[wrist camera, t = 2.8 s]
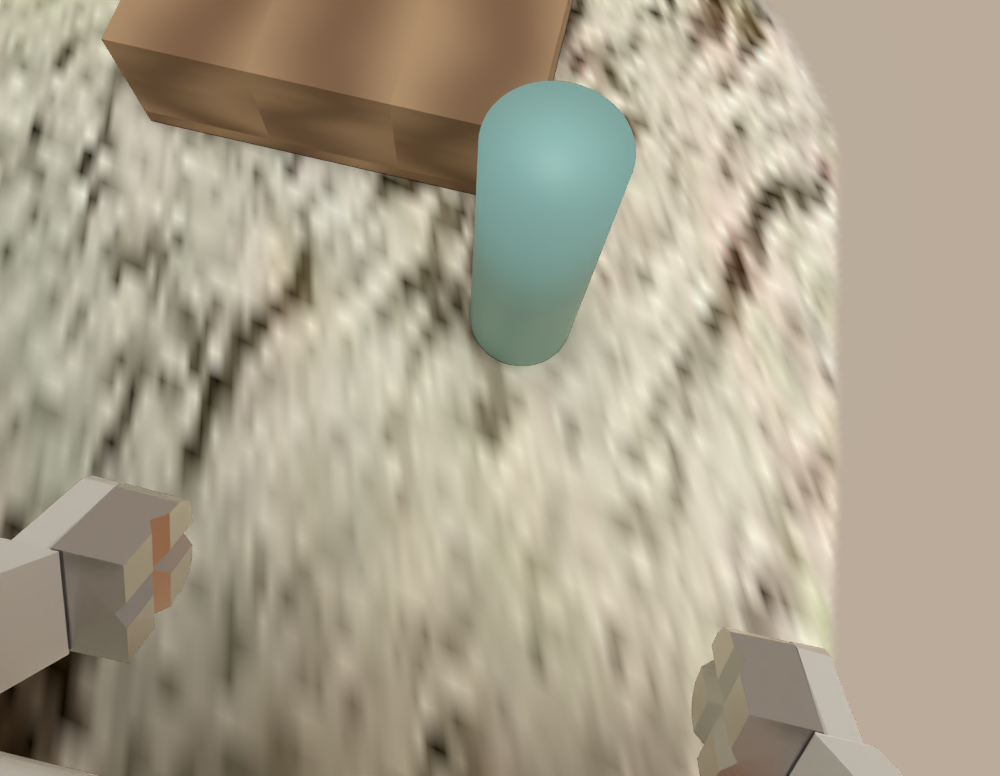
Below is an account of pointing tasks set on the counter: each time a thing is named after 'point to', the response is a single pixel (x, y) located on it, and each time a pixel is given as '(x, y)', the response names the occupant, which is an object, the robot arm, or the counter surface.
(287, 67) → the bore block
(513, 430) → the counter surface
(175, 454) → the counter surface
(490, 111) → the pin
